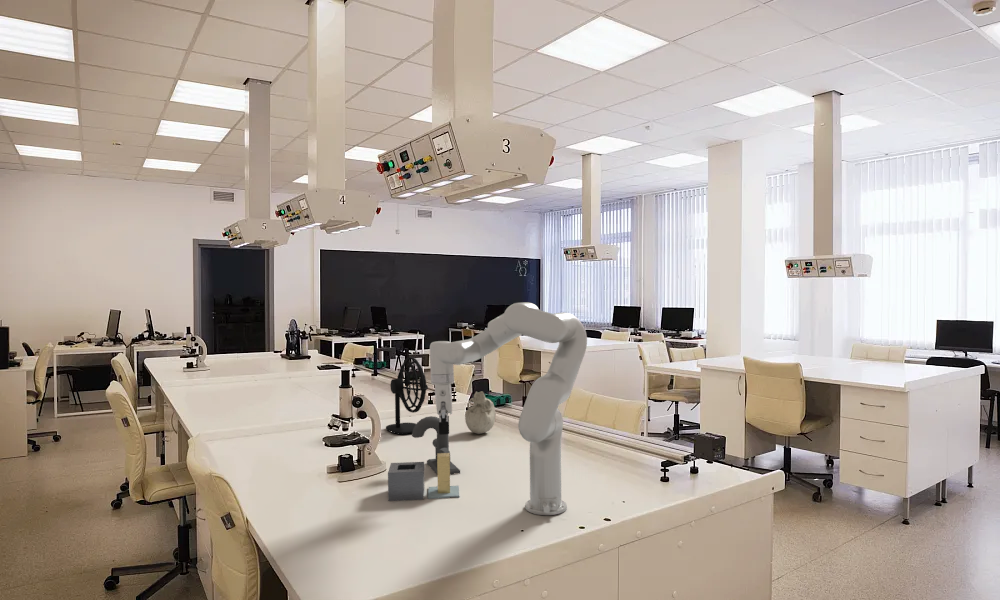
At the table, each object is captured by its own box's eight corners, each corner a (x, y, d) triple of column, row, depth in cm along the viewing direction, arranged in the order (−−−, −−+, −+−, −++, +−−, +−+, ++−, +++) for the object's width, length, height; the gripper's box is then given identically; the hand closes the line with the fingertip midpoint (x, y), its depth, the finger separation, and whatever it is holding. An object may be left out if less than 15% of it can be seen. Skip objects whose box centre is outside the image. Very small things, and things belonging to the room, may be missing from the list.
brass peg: (450, 492, 195) (449, 456, 195) (437, 493, 195) (437, 456, 195) (450, 488, 199) (449, 452, 199) (437, 489, 199) (437, 453, 199)
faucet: (407, 465, 229) (406, 413, 229) (447, 460, 235) (446, 410, 235) (418, 479, 212) (417, 422, 212) (460, 473, 218) (459, 419, 218)
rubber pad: (459, 497, 192) (459, 495, 192) (428, 498, 192) (427, 496, 192) (458, 487, 202) (458, 485, 202) (428, 488, 202) (428, 486, 202)
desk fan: (435, 433, 281) (434, 358, 281) (400, 438, 272) (399, 361, 271) (412, 422, 304) (411, 354, 304) (379, 427, 295) (378, 356, 294)
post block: (423, 499, 191) (422, 471, 191) (388, 501, 190) (387, 472, 190) (424, 488, 202) (424, 461, 202) (391, 489, 201) (391, 462, 201)
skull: (462, 436, 275) (462, 392, 275) (473, 428, 289) (472, 387, 289) (488, 437, 271) (488, 393, 271) (498, 430, 285) (498, 388, 285)
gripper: (454, 381, 188) (456, 436, 188) (453, 375, 205) (455, 424, 205) (430, 383, 188) (432, 437, 188) (431, 376, 205) (433, 426, 205)
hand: (444, 430), depth 196 cm, fingers open, 9 cm apart
